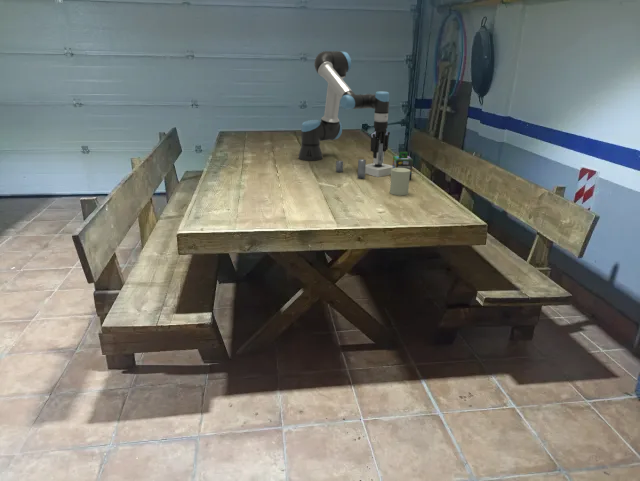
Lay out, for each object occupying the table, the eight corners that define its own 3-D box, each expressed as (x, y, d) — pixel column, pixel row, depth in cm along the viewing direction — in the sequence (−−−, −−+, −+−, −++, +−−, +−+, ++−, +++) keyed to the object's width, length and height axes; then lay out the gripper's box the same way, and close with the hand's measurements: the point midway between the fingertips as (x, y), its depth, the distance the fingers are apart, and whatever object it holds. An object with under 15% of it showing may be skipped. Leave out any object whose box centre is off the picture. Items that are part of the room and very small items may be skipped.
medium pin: (356, 177, 265) (356, 159, 261) (361, 176, 267) (362, 158, 264) (361, 179, 262) (361, 161, 258) (366, 178, 264) (367, 160, 261)
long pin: (372, 171, 276) (374, 142, 270) (377, 170, 279) (379, 142, 273) (378, 172, 273) (379, 143, 267) (382, 171, 276) (384, 143, 270)
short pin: (334, 171, 278) (334, 161, 276) (339, 170, 280) (339, 160, 278) (339, 172, 275) (339, 162, 273) (344, 172, 277) (344, 161, 275)
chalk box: (407, 176, 271) (409, 149, 265) (411, 180, 262) (414, 153, 257) (391, 176, 270) (393, 149, 265) (394, 180, 262) (396, 153, 256)
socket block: (360, 172, 277) (360, 165, 276) (377, 168, 286) (378, 162, 284) (378, 177, 267) (378, 170, 266) (395, 173, 276) (395, 166, 274)
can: (388, 190, 243) (390, 166, 239) (407, 190, 243) (409, 166, 239) (390, 195, 235) (392, 170, 230) (409, 195, 235) (411, 171, 230)
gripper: (374, 123, 258) (372, 166, 267) (396, 120, 268) (393, 162, 277) (365, 121, 263) (362, 163, 272) (386, 119, 273) (383, 160, 282)
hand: (378, 163), depth 274 cm, fingers closed on long pin, 4 cm apart
